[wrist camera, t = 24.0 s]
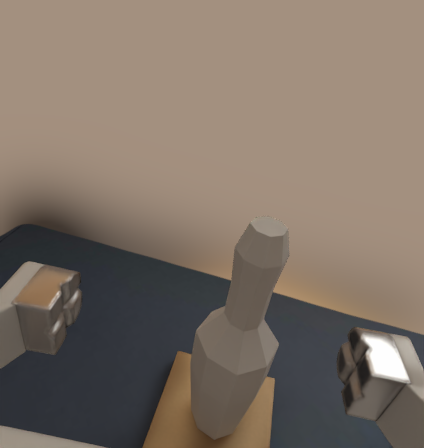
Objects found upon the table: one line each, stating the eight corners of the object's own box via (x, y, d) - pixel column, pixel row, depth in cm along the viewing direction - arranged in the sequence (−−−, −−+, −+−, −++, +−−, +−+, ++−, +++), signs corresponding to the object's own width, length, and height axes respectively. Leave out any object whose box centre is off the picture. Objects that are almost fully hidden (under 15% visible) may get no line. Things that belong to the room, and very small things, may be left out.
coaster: (139, 462, 31) (139, 454, 30) (176, 358, 40) (178, 350, 39) (261, 503, 30) (265, 496, 29) (271, 386, 39) (274, 378, 38)
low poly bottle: (212, 464, 30) (274, 273, 18) (170, 406, 34) (198, 214, 22) (261, 420, 34) (339, 237, 22) (218, 371, 38) (265, 192, 26)
